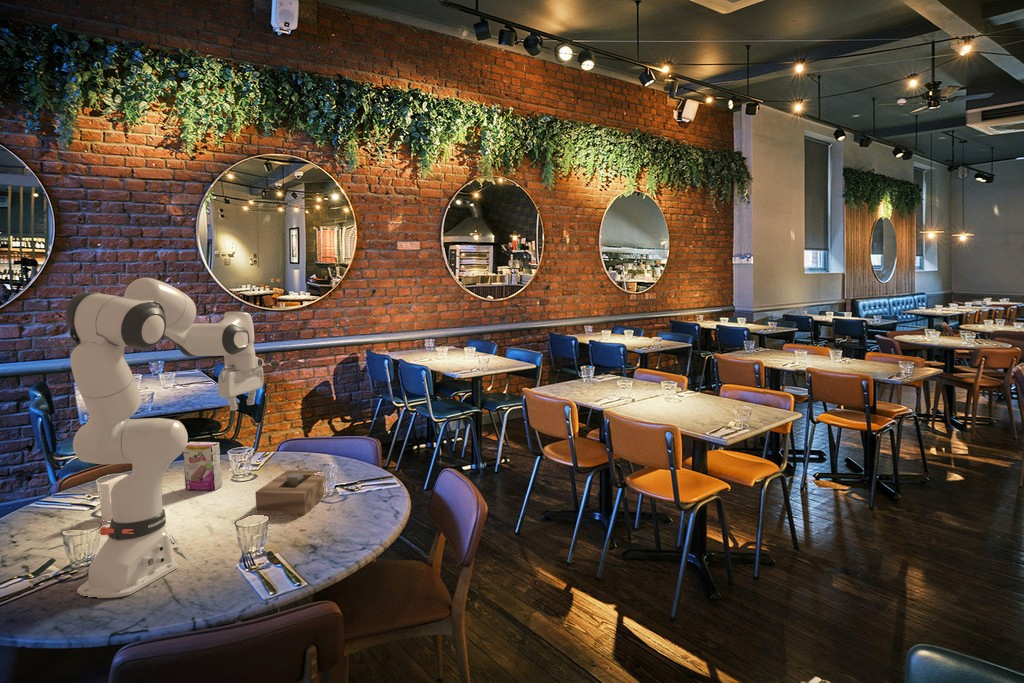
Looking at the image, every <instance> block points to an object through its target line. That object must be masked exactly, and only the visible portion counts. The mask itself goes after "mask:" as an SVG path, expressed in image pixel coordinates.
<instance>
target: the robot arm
mask: <svg viewBox="0 0 1024 683" xmlns="http://www.w3.org/2000/svg"><path fill="white" fill-rule="evenodd" d="M251 315H252V314H250V313H248V312H247V311H239V310H228V311H225V312H224V314H223V319H222V320H221V321H219V322H215V323H213V322H211V323H209V322H207V323H205V322H204V323H199V322H198V323H197V322H195V320H196V316H197V307H196V303H195V302H194V301H193V299H192V298H191V297H190V296H188V295H187V294H186V293H184V292H183V291H182V290H179V289H178V288H177V287H174V286H172V285H171V284H168V283H166V282H165V281H161V280H158V279H155V278H152V277H140V278H137V279H134V280H133V281H132V282H131V283H130V284H129V285H128V286H127V287H126V289H125V292H124V295H123V296H120V295H119V296H118V295H113V294H105V293H101V292H96V291H93V292H92V291H88V292H82V293H78V294H76V295H75V296H73V297H72V298H71V299H70V301H69V302H68V303H67V307H66V309H65V320H66V326H67V329H69V336H70V338H71V339H72V340H73V341H75V342H76V343H77V344H78V345H77V346H75V348H74V349H73V350H72V352H71V354H70V357H69V358H70V365H71V366H70V368H71V372H72V375H73V376H72V377H73V380H74V382H75V385H76V387H77V390H78V392H79V394H80V396H81V398H82V400H83V403H84V405H85V408H86V411H87V413H88V420H87V422H85V424H83V425H82V426H81V427H79V429H78V430H77V431H76V432H75V435H74V436H73V441H72V449H73V452H74V454H75V456H76V457H77V458H78V460H79V461H80V462H83V463H87V464H95V465H118V464H119V465H120V464H131V465H132V471H131V473H130V474H127V475H128V476H126V477H124V478H123V479H121V480H119V481H118V482H117V483H116V484H115V485H114V486H113V488H112V490H111V494H110V495H111V506H112V517H113V518H112V519H111V522H109V523H110V524H109V526H101V527H100V529H99V532H98V533H99V535H100V536H107V537H108V538H107V540H106V541H105V542H104V544H103V545H102V547H101V548H100V549H99V550H98V552H97V554H96V555H95V557H94V558H93V560H91V562H90V564H89V567H88V579H87V580H86V581H85V582H84V583H82V584H81V585H80V586H79V587H78V588H77V589H76V591H77V592H78V593H79V594H80V595H79V594H78V593H77V592H76V593H77V594H78V595H79V596H81V595H83V596H82V597H84V596H88V597H87V598H91V597H97V598H96V599H113V598H121V597H126V596H129V595H131V594H134V593H136V592H137V591H140V590H141V589H143V588H145V587H147V586H148V585H150V584H152V583H153V582H156V581H157V580H159V579H160V578H162V577H164V576H166V575H167V574H170V573H171V572H174V571H175V570H176V569H178V567H179V565H178V562H177V561H176V560H175V558H174V554H173V549H172V548H173V547H172V546H171V545H172V542H171V540H170V538H171V536H170V535H169V534H168V531H167V530H166V526H165V525H166V523H167V522H166V521H167V520H166V518H167V516H166V510H165V509H164V508H163V481H164V476H165V474H166V471H167V470H168V468H169V467H170V465H171V464H172V463H173V462H174V461H175V460H176V459H177V458H179V457H180V456H181V455H183V451H184V450H185V448H186V445H187V443H189V442H188V439H189V436H188V432H187V429H186V427H185V425H184V424H183V423H182V422H181V421H180V420H176V419H171V418H161V417H157V418H155V417H153V418H152V417H151V418H131V417H132V416H133V415H135V413H136V412H137V411H138V410H139V409H140V406H141V405H142V404H141V403H142V394H141V393H140V390H139V387H138V385H137V382H136V380H135V377H134V374H133V372H132V370H131V368H130V366H129V363H128V362H127V361H126V359H125V349H126V347H127V348H131V349H135V350H137V349H138V350H148V349H151V348H153V347H155V346H156V345H157V344H158V343H160V341H161V340H162V339H163V338H165V339H167V340H169V342H172V343H173V344H174V345H175V346H176V347H177V348H178V350H179V351H180V352H181V353H182V354H183V355H184V356H186V357H189V358H192V357H193V358H195V357H202V356H203V357H211V356H212V357H219V356H223V357H224V366H223V367H222V369H221V370H220V373H219V375H218V379H217V380H218V381H217V394H218V396H219V398H222V399H226V400H227V403H228V405H229V410H230V411H233V412H234V411H237V410H239V404H238V403H237V402H236V399H237V396H239V395H243V394H246V393H247V394H248V396H247V398H246V405H247V406H252V405H253V406H254V405H255V398H256V395H257V390H260V389H262V388H263V387H264V381H265V380H264V379H265V378H264V368H263V367H264V364H265V362H264V359H263V358H260V357H258V356H256V351H255V347H254V343H255V329H254V322H253V317H252V316H251ZM169 536H170V537H169Z"/></svg>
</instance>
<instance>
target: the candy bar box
mask: <svg viewBox="0 0 1024 683" xmlns="http://www.w3.org/2000/svg"><path fill="white" fill-rule="evenodd" d="M220 449H221V447H220V442H215V441H213V442H212V441H189V442H187V445H186V448H185V450H184V451H183V452H182V457H183V458H182V460H183V470H184V472H183V473H184V486H185V487H184V488H185V490H187V491H209V490H213V491H214V492H215V491H218V489H220V488H221V487H223V480H222V465H221V464H222V463H221V450H220ZM213 491H212V492H213Z"/></svg>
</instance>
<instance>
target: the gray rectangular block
mask: <svg viewBox="0 0 1024 683" xmlns="http://www.w3.org/2000/svg"><path fill="white" fill-rule="evenodd" d="M286 482H287V488H296V487H297V486H298V485H300V484H301V483H302V482H304V477H303V473H291V474H290V475H288V476H287V477H286Z"/></svg>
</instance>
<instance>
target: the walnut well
mask: <svg viewBox="0 0 1024 683" xmlns="http://www.w3.org/2000/svg"><path fill="white" fill-rule="evenodd" d="M322 471H323V470H311V469H310V470H308V469H305V470H304V469H303V470H302V469H301V470H300V469H288V470H285V471H284V472H283V473H281V474H280V475H278V476H277V477H276V478H274V479H272V480H271V481H269V482H268V483H266V484H265V485H263V486H262V487H261V488H259V489H258V490H257V491H255V507H256V514H257V513H270V514H269V515H273V514H272V513H275V514H274V515H277V514H276V513H282V514H281V515H291V514H306V513H307V512H308V513H309V512H310V511H311V510H312V509H314V508H315V507H316V506H317V505H319V503H321V499H322V497H323V495H324V487H323V483H324V478H325V476H320V475H315V474H314V473H317V472H322ZM291 473H303V477H304V482H302V483H301V484H300V485H298V486H297V487H296V488H287V482H286V477H287V476H288V475H290V474H291ZM315 505H316V506H315ZM314 506H315V507H314ZM313 507H314V508H313ZM308 513H307V514H308ZM307 514H306V515H307Z"/></svg>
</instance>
